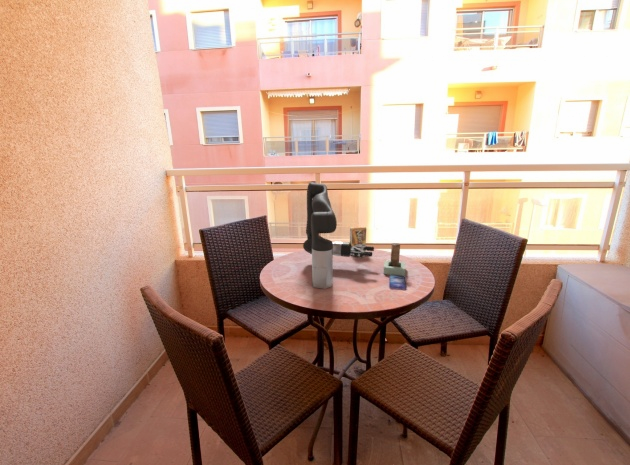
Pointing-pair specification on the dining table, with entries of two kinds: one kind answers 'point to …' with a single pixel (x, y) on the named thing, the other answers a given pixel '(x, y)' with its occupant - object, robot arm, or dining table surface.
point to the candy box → (357, 235)
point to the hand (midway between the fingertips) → (373, 251)
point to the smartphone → (397, 282)
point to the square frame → (394, 268)
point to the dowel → (395, 255)
